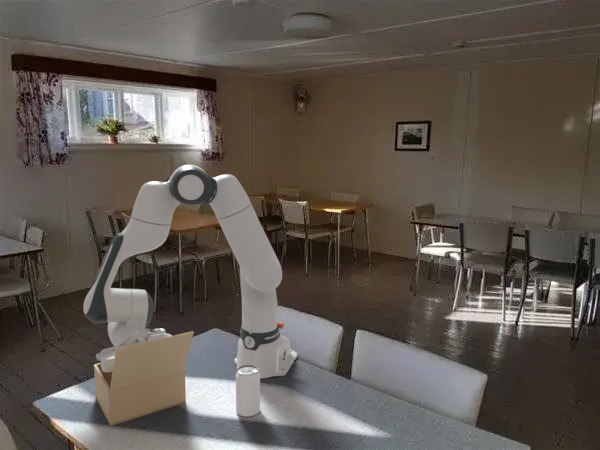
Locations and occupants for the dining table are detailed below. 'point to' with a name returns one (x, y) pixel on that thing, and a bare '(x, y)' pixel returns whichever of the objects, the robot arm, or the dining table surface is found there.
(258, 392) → the can
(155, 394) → the carton
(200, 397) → the dining table surface
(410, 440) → the dining table surface
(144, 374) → the carton flap
